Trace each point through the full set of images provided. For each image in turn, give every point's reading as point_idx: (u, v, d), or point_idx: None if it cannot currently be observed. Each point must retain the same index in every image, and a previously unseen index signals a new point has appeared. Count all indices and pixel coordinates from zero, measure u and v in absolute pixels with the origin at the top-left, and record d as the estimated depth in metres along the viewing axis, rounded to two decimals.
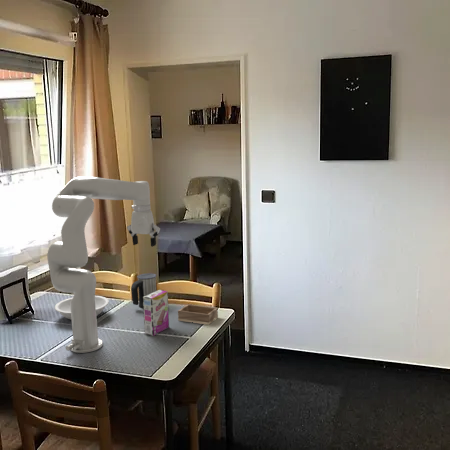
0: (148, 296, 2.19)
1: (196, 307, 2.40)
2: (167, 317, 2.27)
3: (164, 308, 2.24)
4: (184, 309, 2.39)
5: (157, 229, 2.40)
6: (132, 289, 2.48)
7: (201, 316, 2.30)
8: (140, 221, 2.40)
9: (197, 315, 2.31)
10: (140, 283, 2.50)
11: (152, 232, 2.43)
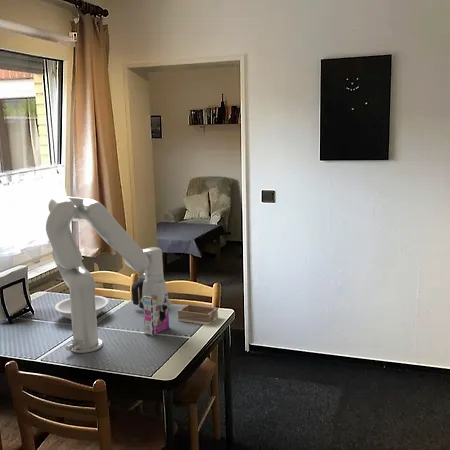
0: (148, 296, 2.19)
1: (196, 307, 2.40)
2: (167, 317, 2.27)
3: None
4: (184, 309, 2.39)
5: (168, 304, 2.19)
6: (132, 289, 2.48)
7: (201, 316, 2.30)
8: (152, 292, 2.19)
9: (197, 315, 2.31)
10: (140, 283, 2.50)
11: (163, 304, 2.22)
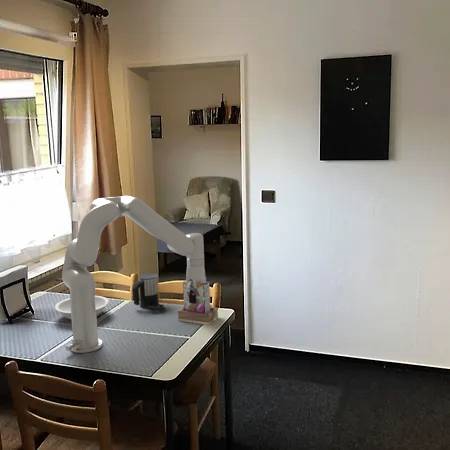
0: None
1: None
2: (202, 309, 2.31)
3: (198, 299, 2.31)
4: None
5: None
6: (133, 289, 2.48)
7: (201, 316, 2.30)
8: None
9: (197, 315, 2.31)
10: (141, 283, 2.49)
11: (194, 289, 2.30)
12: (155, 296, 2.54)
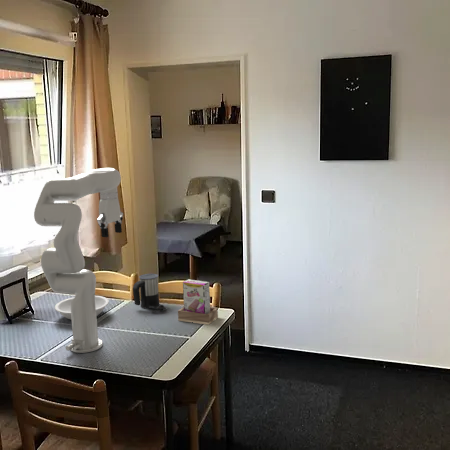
0: (188, 280, 2.35)
1: None
2: (202, 309, 2.31)
3: (198, 299, 2.31)
4: None
5: None
6: (134, 290, 2.48)
7: (201, 316, 2.30)
8: None
9: (197, 315, 2.31)
10: (142, 283, 2.49)
11: None
12: (156, 296, 2.53)
